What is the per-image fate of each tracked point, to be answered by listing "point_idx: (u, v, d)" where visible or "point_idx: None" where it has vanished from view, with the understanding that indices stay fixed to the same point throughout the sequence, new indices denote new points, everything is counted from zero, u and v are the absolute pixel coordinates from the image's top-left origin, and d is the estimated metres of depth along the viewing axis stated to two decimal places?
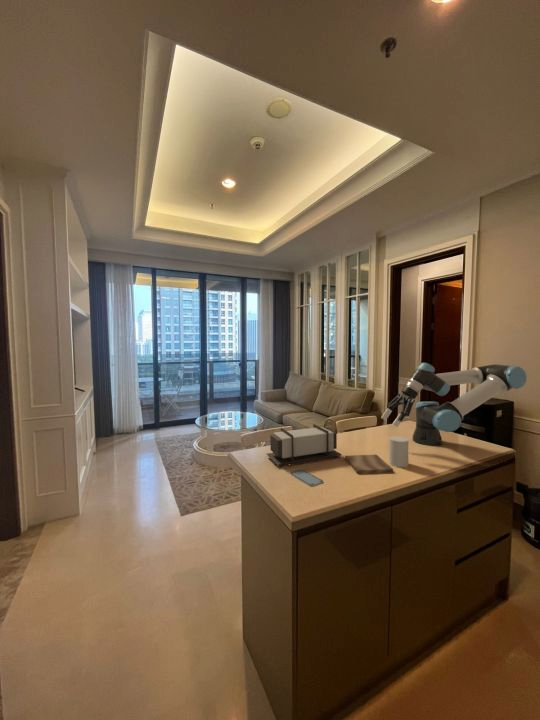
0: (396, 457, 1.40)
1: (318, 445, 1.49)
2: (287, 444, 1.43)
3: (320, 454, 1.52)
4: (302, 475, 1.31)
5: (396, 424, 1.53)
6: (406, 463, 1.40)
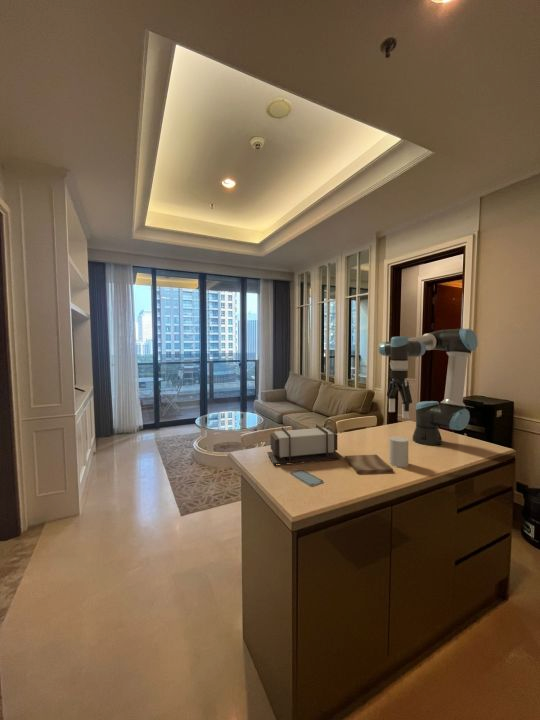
0: (396, 457, 1.40)
1: (317, 446, 1.48)
2: (284, 443, 1.45)
3: (320, 455, 1.51)
4: (302, 475, 1.31)
5: (406, 416, 1.36)
6: (406, 463, 1.40)
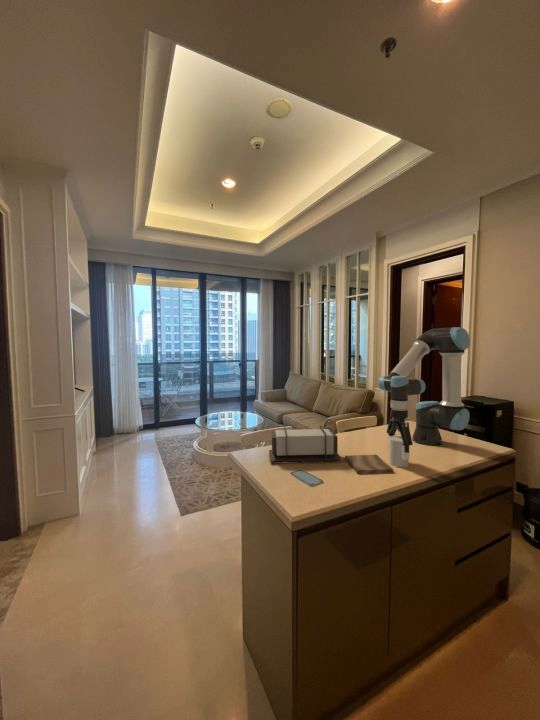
0: (396, 457, 1.40)
1: (315, 447, 1.47)
2: (281, 442, 1.47)
3: (319, 456, 1.50)
4: (302, 475, 1.31)
5: (406, 457, 1.36)
6: (406, 463, 1.40)
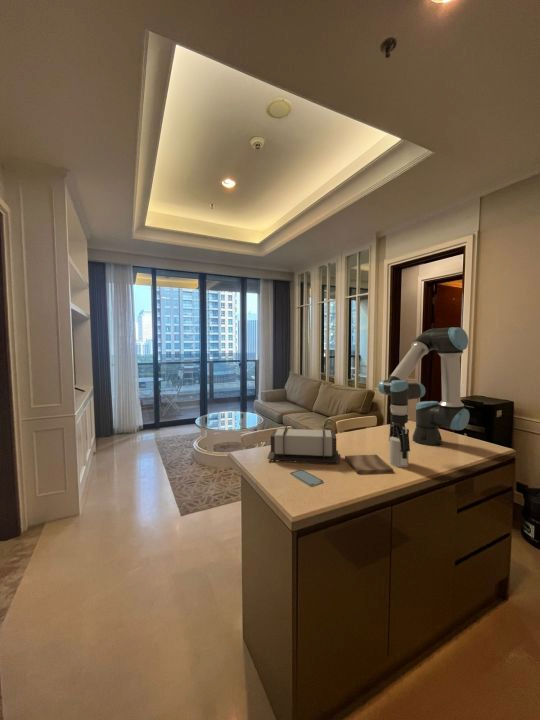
0: (396, 457, 1.40)
1: (313, 447, 1.46)
2: (279, 441, 1.49)
3: (318, 457, 1.48)
4: (302, 475, 1.31)
5: (404, 463, 1.39)
6: None
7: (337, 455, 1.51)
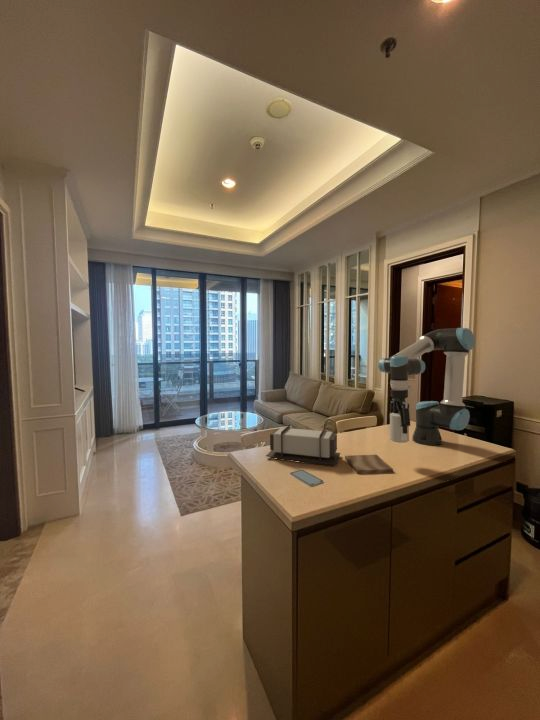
0: (397, 432, 1.40)
1: (310, 448, 1.45)
2: (277, 439, 1.51)
3: (316, 458, 1.47)
4: (302, 475, 1.31)
5: (404, 438, 1.38)
6: (407, 438, 1.40)
7: (337, 457, 1.48)
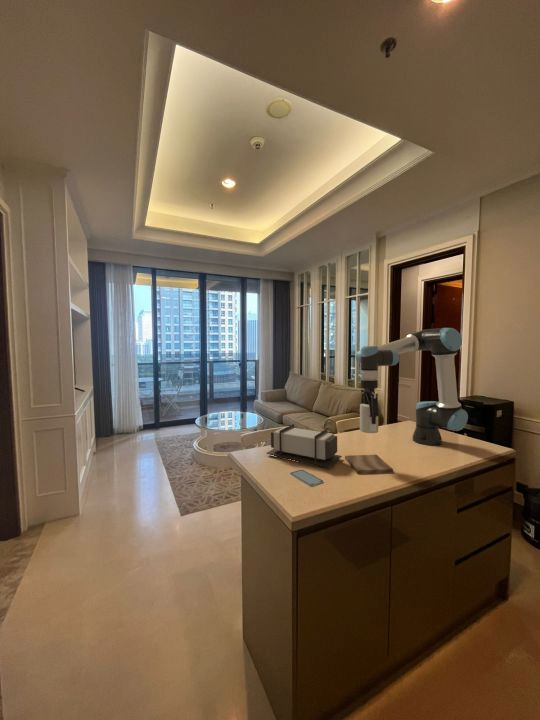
0: (366, 423, 1.38)
1: (307, 448, 1.45)
2: (277, 438, 1.54)
3: (314, 459, 1.46)
4: (302, 475, 1.31)
5: (373, 428, 1.37)
6: (376, 429, 1.38)
7: (335, 460, 1.44)
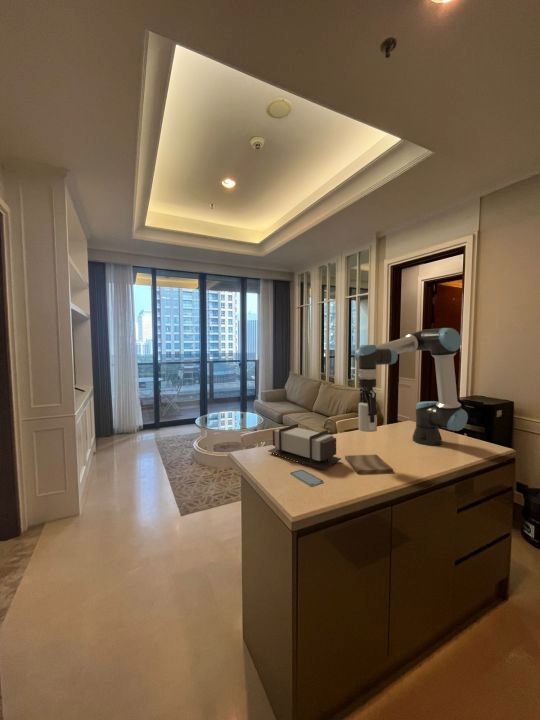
0: (364, 422, 1.38)
1: (303, 448, 1.45)
2: (277, 436, 1.56)
3: None
4: (302, 475, 1.31)
5: (372, 427, 1.37)
6: None
7: (332, 462, 1.42)
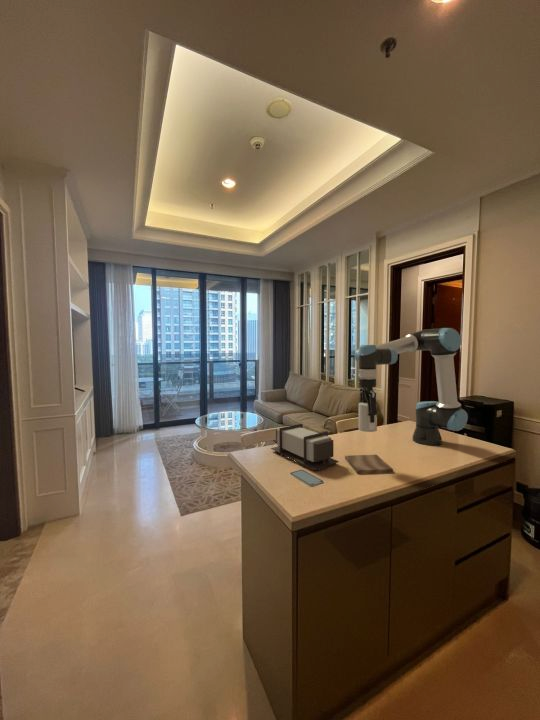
0: (364, 422, 1.38)
1: (299, 448, 1.45)
2: (279, 435, 1.59)
3: None
4: (302, 475, 1.31)
5: (372, 427, 1.37)
6: None
7: (326, 464, 1.39)
